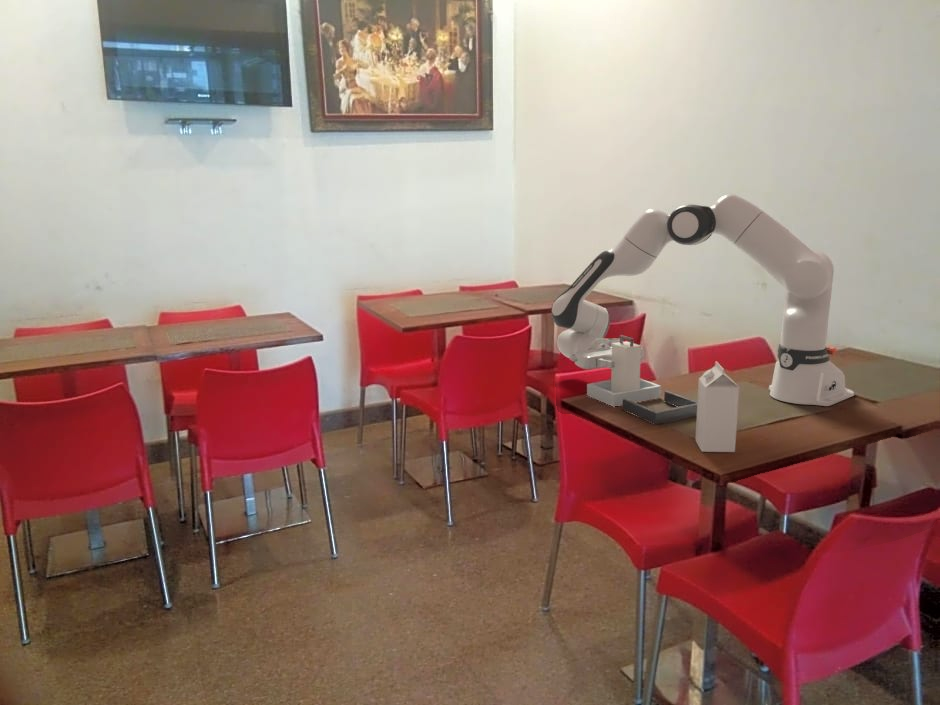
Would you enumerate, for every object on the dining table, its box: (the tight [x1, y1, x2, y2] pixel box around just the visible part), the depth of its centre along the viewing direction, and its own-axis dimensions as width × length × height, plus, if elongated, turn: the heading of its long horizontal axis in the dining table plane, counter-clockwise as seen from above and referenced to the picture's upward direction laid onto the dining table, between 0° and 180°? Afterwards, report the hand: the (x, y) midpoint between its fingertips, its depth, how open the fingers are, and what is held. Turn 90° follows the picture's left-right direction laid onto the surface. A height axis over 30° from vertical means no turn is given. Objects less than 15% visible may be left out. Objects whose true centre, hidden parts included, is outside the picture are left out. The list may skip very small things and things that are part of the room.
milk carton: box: [695, 360, 740, 453], centre depth 159 cm, size 7×7×19 cm
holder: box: [621, 390, 698, 425], centre depth 185 cm, size 15×13×3 cm
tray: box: [586, 377, 662, 408], centre depth 198 cm, size 16×12×4 cm
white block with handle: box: [610, 334, 642, 393], centre depth 196 cm, size 5×6×16 cm
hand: (626, 362), depth 195 cm, fingers open, 8 cm apart
